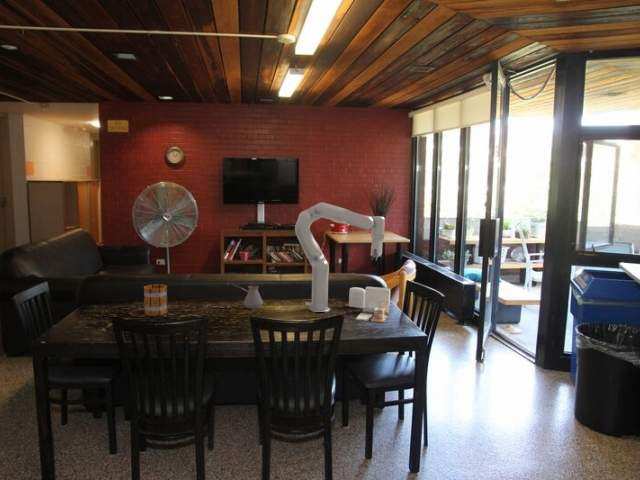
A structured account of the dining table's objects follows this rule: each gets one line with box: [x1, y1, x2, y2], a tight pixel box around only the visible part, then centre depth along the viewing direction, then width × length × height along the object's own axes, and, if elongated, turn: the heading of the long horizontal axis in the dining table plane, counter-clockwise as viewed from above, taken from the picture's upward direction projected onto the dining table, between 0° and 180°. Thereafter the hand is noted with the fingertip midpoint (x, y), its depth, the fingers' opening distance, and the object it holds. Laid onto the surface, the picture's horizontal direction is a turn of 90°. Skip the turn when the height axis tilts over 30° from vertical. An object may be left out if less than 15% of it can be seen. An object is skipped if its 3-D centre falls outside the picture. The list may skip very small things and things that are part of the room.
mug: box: [143, 283, 168, 316], centre depth 284 cm, size 20×14×15 cm
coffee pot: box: [227, 281, 264, 310], centre depth 297 cm, size 21×12×15 cm, turn 87°
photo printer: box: [348, 286, 365, 310], centre depth 303 cm, size 10×4×12 cm, turn 67°
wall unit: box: [361, 286, 393, 316], centre depth 292 cm, size 16×8×14 cm, turn 72°
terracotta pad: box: [370, 315, 388, 323], centre depth 278 cm, size 7×12×1 cm, turn 162°
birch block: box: [373, 308, 385, 319], centre depth 278 cm, size 5×5×5 cm
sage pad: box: [355, 312, 374, 322], centre depth 281 cm, size 7×12×1 cm, turn 162°
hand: (376, 265), depth 294 cm, fingers open, 9 cm apart
